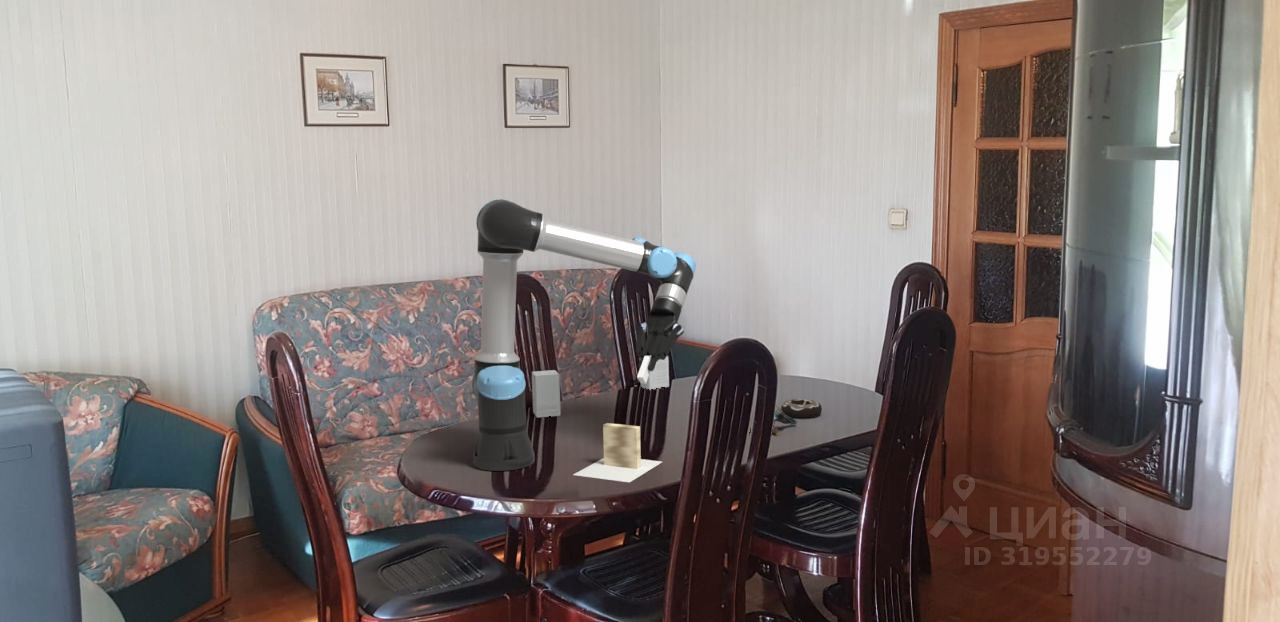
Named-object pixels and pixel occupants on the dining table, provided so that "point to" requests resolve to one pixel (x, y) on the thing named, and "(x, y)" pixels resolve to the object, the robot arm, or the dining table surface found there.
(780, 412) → the bird figurine
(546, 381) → the supplement box
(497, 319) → the robot arm
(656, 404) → the dining table surface
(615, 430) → the birch slab
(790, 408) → the donut
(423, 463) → the dining table surface
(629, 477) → the rubber mat
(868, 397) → the dining table surface
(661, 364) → the small box
